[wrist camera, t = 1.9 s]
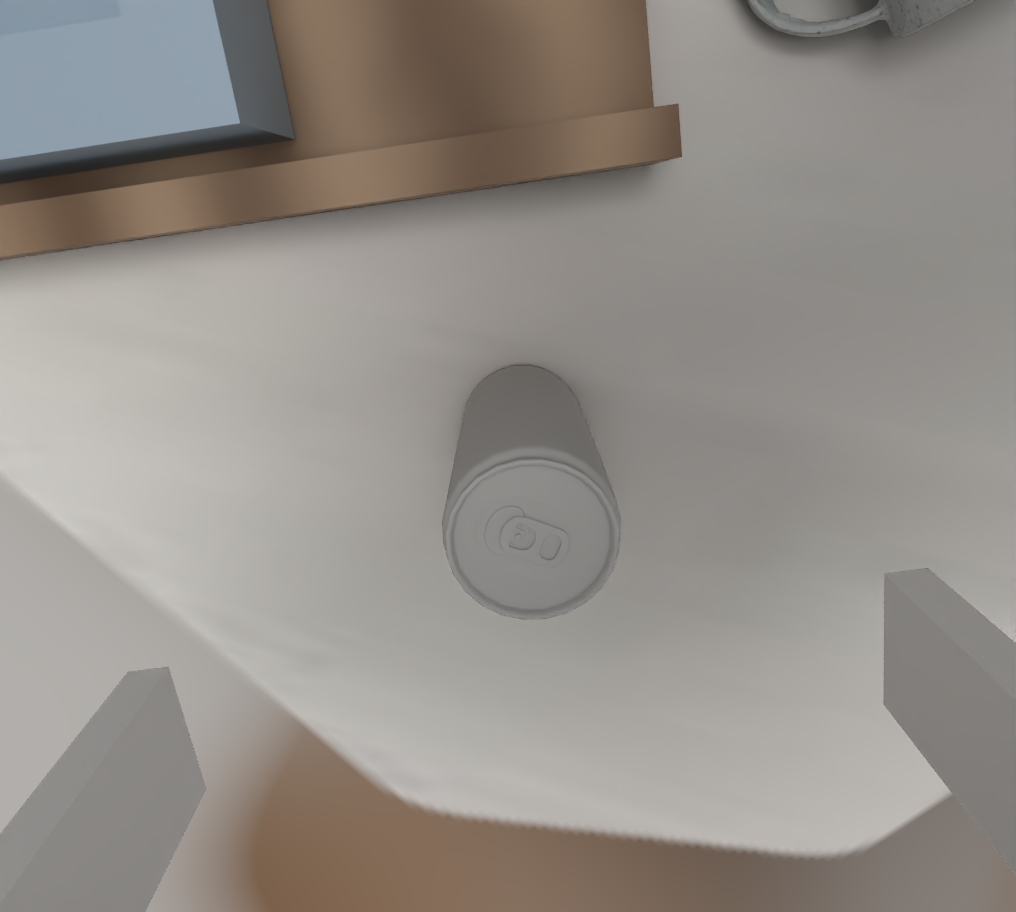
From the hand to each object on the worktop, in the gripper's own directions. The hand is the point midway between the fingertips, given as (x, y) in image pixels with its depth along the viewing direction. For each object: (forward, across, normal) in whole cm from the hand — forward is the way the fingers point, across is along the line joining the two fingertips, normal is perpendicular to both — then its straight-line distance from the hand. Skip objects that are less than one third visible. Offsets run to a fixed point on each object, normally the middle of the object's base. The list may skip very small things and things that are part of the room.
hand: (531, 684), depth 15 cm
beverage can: (+18, 0, 0) cm, 19 cm away
